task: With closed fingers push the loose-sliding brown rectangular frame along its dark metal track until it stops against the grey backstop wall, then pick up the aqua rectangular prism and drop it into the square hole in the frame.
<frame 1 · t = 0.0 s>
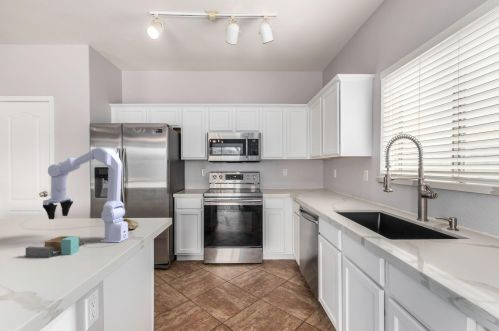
hand: (58, 217, 118), 10 cm above the counter, fingers open, 7 cm apart
decorative stone: (129, 228, 139), on the counter
backstop: (39, 256, 95), on the counter
aqua rectangular prism: (70, 253, 99), on the counter
brown rectangular frame: (62, 243, 105), point 2 cm above the counter, slide at 0.0 cm
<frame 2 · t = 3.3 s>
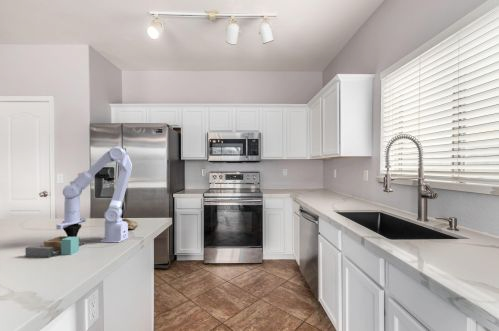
hand: (72, 241, 110), 1 cm above the counter, fingers closed
brown rectangular frame: (62, 243, 105), point 2 cm above the counter, slide at 0.3 cm, touching gripper
everything else where it was.
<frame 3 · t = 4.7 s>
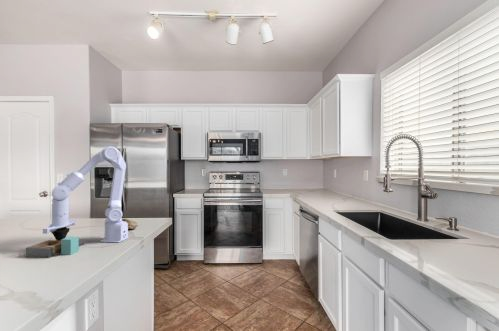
hand: (60, 245, 104), 1 cm above the counter, fingers closed
brown rectangular frame: (50, 247, 99), point 2 cm above the counter, slide at 6.0 cm, touching backstop, gripper
everything else where it was.
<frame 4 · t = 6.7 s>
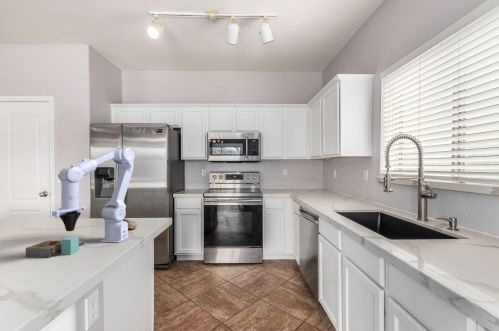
hand: (70, 230, 99), 9 cm above the counter, fingers closed
brown rectangular frame: (50, 247, 99), point 2 cm above the counter, slide at 6.0 cm, touching backstop
everything else where it was.
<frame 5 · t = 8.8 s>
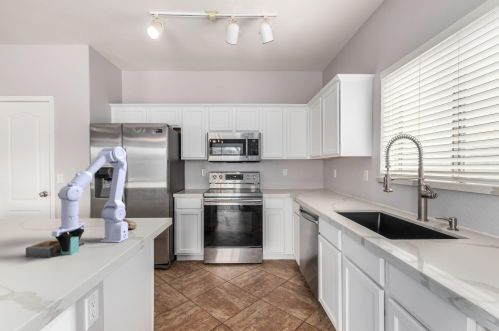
hand: (70, 249, 99), 1 cm above the counter, fingers closed on aqua rectangular prism, 4 cm apart
aqua rectangular prism: (70, 252, 99), on the counter, touching gripper
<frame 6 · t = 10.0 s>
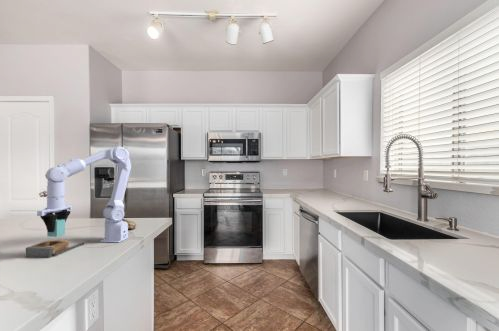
hand: (55, 230, 99), 9 cm above the counter, fingers closed on aqua rectangular prism, 4 cm apart
aqua rectangular prism: (56, 235, 99), point 7 cm above the counter, touching gripper
when the fingers open (4 cm above the counter, at t = 11.5 s): aqua rectangular prism drops 2 cm, resting in brown rectangular frame.
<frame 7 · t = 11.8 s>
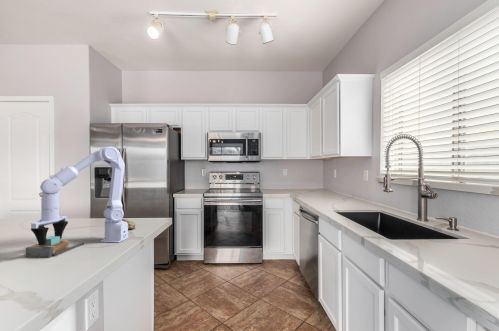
hand: (50, 241, 99), 4 cm above the counter, fingers open, 7 cm apart
aqua rectangular prism: (51, 252, 99), resting in brown rectangular frame
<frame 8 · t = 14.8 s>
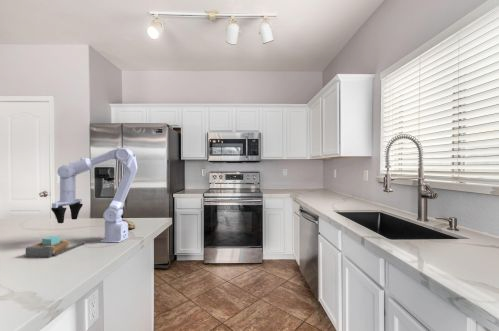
hand: (67, 221, 112), 10 cm above the counter, fingers open, 7 cm apart
at the end: brown rectangular frame slide at 6.0 cm; aqua rectangular prism 0.3 cm from the target spot, resting in brown rectangular frame; aqua rectangular prism tilted 0° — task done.
